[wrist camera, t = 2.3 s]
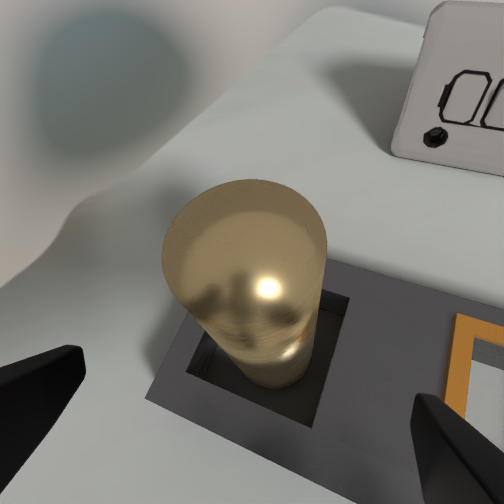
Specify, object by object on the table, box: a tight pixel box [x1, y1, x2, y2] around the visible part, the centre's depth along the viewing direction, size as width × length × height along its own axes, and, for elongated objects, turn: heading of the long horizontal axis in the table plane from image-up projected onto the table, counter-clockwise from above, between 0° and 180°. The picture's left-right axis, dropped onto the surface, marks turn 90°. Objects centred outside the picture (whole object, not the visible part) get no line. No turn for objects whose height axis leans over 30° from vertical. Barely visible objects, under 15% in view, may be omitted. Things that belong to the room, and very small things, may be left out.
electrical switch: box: [390, 0, 504, 176], centre depth 21 cm, size 9×5×9 cm, turn 68°
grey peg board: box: [145, 259, 504, 504], centre depth 16 cm, size 21×10×3 cm, turn 67°
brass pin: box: [162, 179, 327, 389], centre depth 14 cm, size 4×4×12 cm
